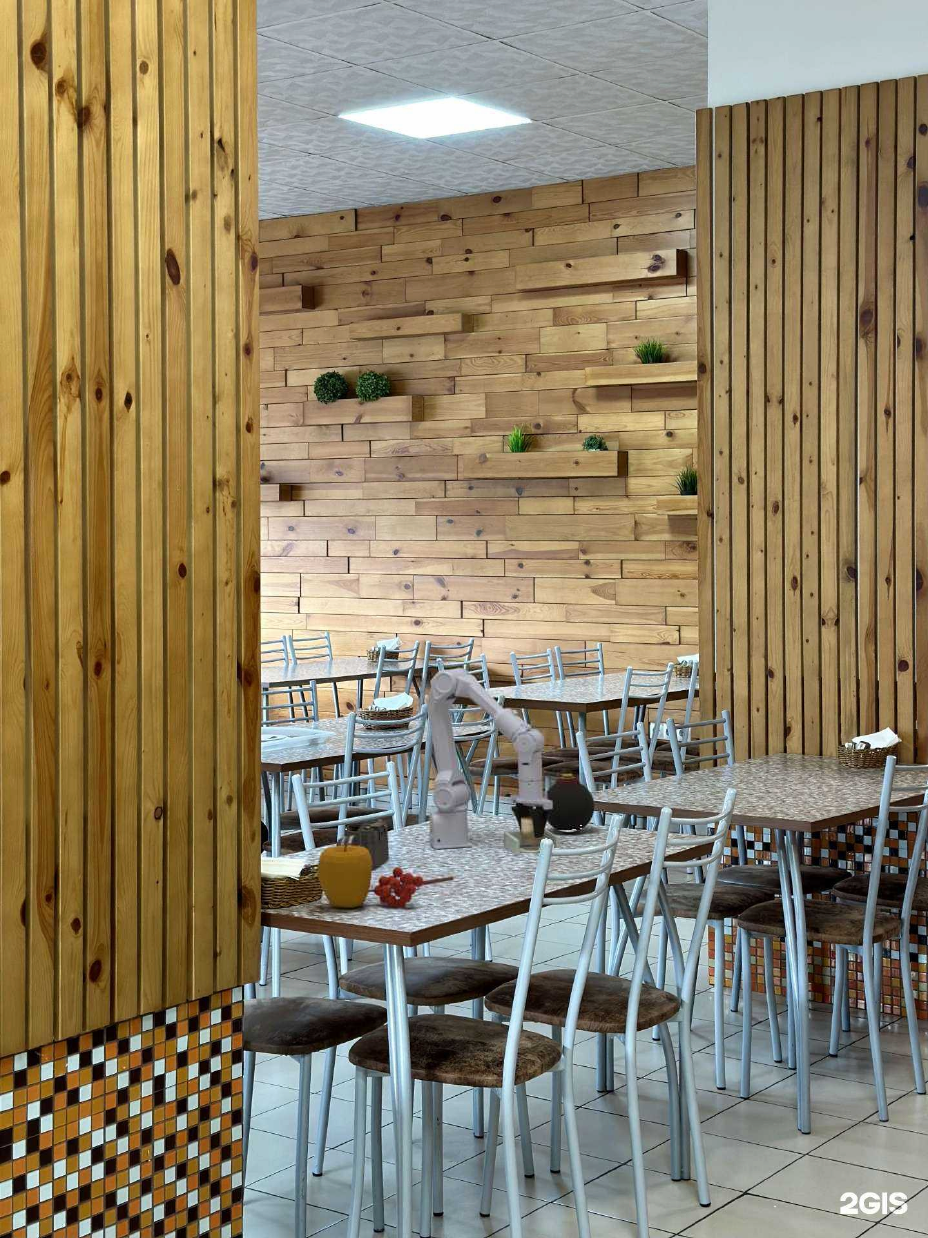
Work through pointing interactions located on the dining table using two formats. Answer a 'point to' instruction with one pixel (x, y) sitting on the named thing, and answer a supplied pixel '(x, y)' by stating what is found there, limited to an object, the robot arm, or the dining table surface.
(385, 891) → the decorative berry sprig
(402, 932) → the dining table surface
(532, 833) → the birch cylinder
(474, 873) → the dining table surface
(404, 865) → the dining table surface
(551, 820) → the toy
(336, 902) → the apple
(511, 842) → the shallow grey tray
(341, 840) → the camera
